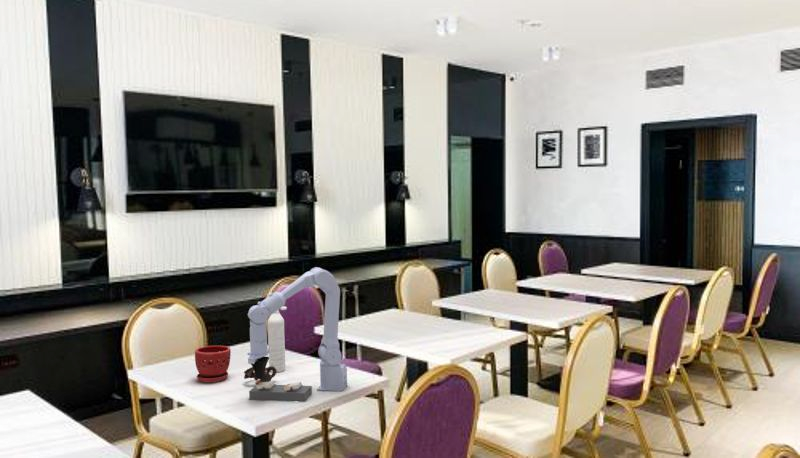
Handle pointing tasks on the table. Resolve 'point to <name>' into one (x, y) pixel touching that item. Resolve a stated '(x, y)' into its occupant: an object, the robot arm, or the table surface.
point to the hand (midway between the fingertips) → (259, 378)
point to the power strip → (281, 393)
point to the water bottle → (276, 341)
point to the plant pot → (212, 363)
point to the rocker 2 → (292, 386)
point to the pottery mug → (267, 377)
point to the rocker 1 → (265, 385)
